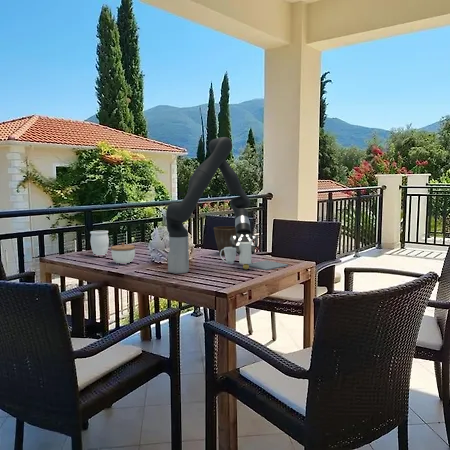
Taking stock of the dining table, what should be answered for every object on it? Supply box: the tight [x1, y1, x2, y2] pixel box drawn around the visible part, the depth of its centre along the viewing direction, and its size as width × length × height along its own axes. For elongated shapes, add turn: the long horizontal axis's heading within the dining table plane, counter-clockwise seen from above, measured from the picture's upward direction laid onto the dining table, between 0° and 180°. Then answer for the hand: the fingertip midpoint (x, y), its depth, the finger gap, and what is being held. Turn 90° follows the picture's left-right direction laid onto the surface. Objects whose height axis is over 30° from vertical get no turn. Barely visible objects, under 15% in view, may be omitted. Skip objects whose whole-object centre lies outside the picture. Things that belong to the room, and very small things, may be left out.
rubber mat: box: [248, 259, 289, 271], centre depth 216 cm, size 16×16×1 cm
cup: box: [219, 247, 237, 264], centre depth 226 cm, size 7×10×8 cm
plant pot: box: [213, 225, 238, 256], centre depth 250 cm, size 15×15×16 cm
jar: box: [89, 229, 110, 255], centre depth 248 cm, size 11×10×15 cm
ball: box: [242, 264, 250, 270], centre depth 207 cm, size 3×3×3 cm
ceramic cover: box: [238, 242, 252, 265], centre depth 207 cm, size 6×6×10 cm
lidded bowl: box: [110, 242, 136, 264], centre depth 227 cm, size 13×13×11 cm
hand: (245, 253), depth 205 cm, fingers closed on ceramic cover, 6 cm apart
